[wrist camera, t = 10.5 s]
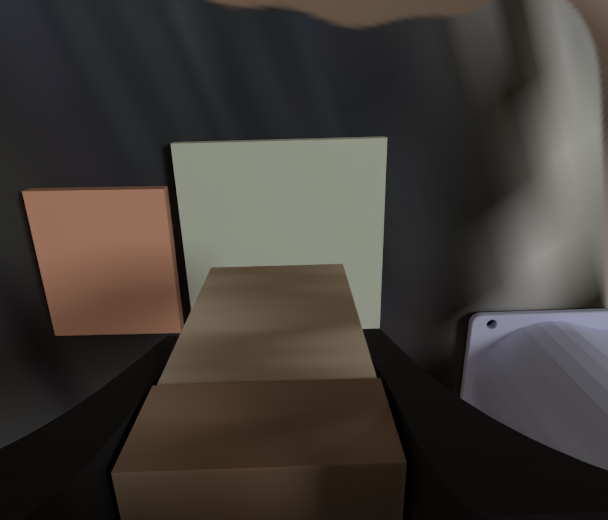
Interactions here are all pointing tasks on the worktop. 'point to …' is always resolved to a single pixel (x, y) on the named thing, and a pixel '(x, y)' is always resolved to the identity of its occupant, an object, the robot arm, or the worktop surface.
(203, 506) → the brown wooden box
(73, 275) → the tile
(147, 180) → the worktop surface
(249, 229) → the mat
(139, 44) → the worktop surface
